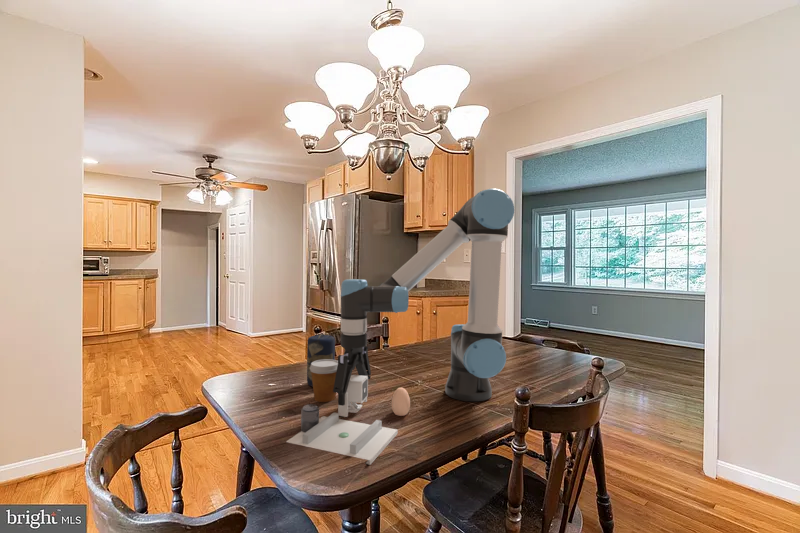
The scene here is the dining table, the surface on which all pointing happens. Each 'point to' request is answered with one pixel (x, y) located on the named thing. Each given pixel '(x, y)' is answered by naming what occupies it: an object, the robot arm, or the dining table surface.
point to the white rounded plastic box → (357, 392)
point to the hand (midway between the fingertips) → (353, 408)
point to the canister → (319, 351)
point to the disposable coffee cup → (324, 379)
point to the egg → (400, 402)
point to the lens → (309, 417)
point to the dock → (347, 437)
